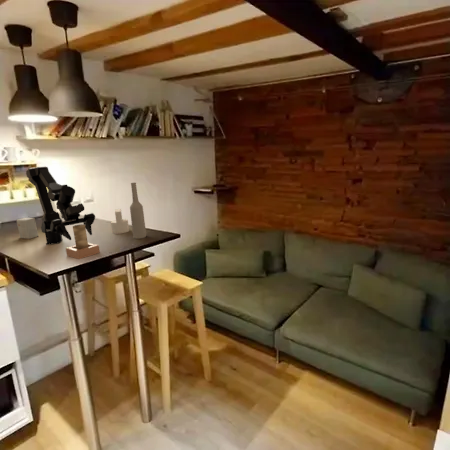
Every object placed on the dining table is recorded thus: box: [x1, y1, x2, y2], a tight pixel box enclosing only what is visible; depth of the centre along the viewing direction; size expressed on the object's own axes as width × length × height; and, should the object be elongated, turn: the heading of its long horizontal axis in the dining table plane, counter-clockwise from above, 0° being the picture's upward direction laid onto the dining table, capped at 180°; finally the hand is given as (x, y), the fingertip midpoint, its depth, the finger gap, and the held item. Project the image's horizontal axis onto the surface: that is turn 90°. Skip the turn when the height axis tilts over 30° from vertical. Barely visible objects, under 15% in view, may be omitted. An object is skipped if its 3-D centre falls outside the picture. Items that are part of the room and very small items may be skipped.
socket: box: [65, 242, 101, 260], centre depth 150 cm, size 10×10×4 cm
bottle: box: [129, 182, 147, 240], centre depth 170 cm, size 7×7×28 cm
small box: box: [16, 217, 39, 240], centre depth 186 cm, size 8×6×10 cm
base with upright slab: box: [110, 208, 130, 235], centre depth 186 cm, size 9×9×12 cm
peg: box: [72, 223, 89, 250], centre depth 149 cm, size 5×5×13 cm
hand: (81, 237), depth 148 cm, fingers open, 9 cm apart
